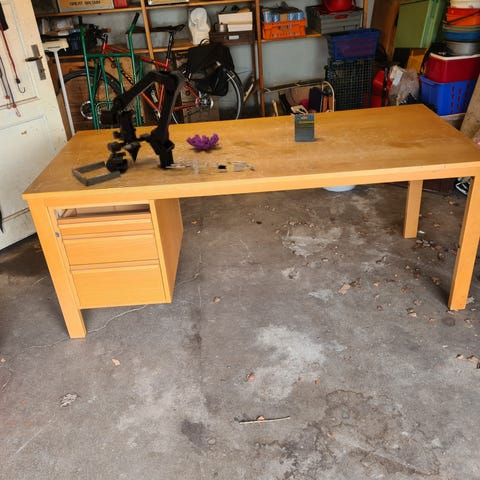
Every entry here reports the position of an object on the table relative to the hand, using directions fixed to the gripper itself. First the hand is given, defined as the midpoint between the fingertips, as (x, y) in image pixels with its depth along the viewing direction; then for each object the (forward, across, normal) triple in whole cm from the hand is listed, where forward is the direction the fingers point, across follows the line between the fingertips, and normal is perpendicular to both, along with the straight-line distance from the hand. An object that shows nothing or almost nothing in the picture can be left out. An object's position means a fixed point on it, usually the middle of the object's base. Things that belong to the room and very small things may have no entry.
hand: (134, 162), depth 196 cm
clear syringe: (+2, -21, +27) cm, 34 cm away
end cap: (+1, +8, +1) cm, 8 cm away
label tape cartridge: (+3, -71, +28) cm, 77 cm away
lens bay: (+1, +17, 0) cm, 17 cm away
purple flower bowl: (+2, -32, +4) cm, 32 cm away
